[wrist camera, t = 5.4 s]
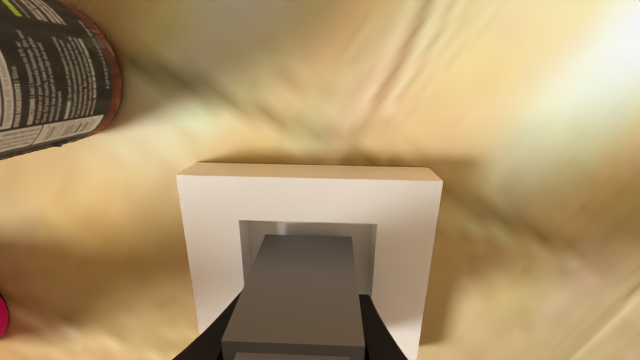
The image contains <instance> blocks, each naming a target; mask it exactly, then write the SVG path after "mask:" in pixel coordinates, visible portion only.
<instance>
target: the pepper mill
mask: <svg viewBox="0 0 640 360" xmlns="http://www.w3.org/2000/svg"><path fill="white" fill-rule="evenodd" d="M7 326H8V310H7V307H6V305H5V303H4V301H3V299H2V297H1V296H0V338H1V337H2V336H3V334H4V333H5V331H6V329H7Z"/></svg>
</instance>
